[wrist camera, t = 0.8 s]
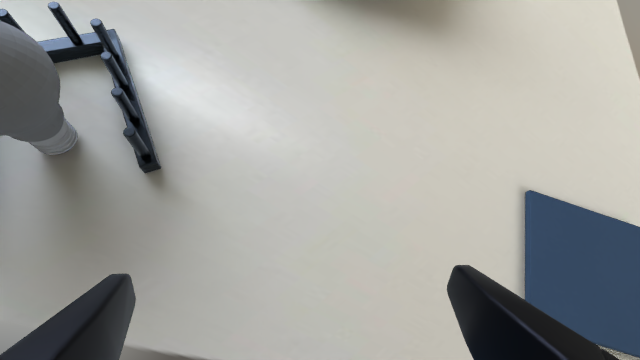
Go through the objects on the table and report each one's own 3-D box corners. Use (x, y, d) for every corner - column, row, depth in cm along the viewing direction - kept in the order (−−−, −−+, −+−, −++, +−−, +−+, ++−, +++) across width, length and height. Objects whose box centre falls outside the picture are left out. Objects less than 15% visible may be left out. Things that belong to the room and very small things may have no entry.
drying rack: (161, 168, 24) (142, 140, 20) (-32, 227, 20) (-103, 206, 16) (119, 39, 27) (96, -8, 23) (-53, 70, 24) (-115, 21, 20)
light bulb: (-9, 168, 22) (-198, 64, 13) (38, 97, 24) (-93, -33, 15) (83, 189, 22) (-35, 104, 13) (120, 117, 25) (42, 4, 16)
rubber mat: (654, 362, 25) (663, 363, 25) (524, 322, 25) (530, 322, 24) (635, 229, 30) (642, 227, 29) (525, 192, 29) (530, 189, 28)
